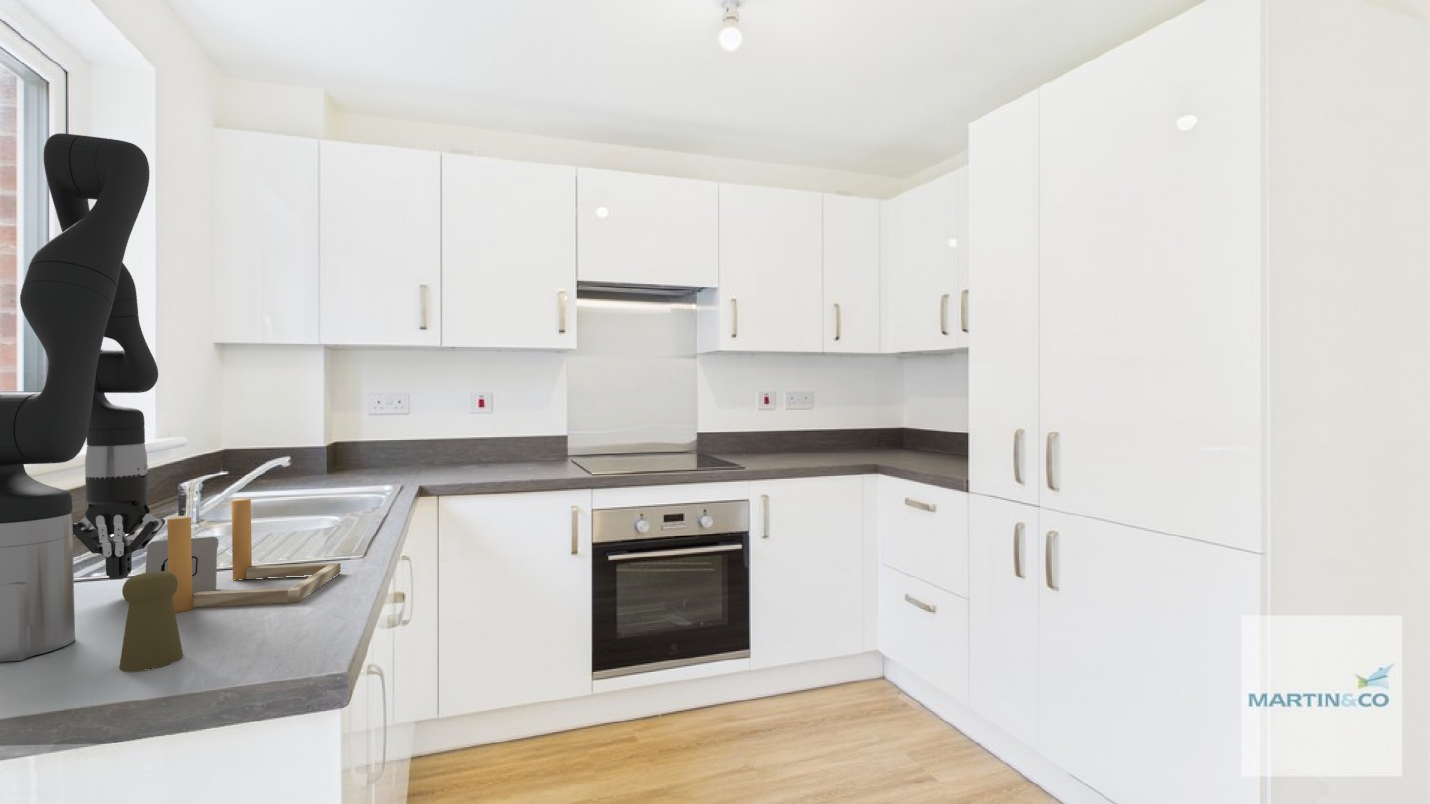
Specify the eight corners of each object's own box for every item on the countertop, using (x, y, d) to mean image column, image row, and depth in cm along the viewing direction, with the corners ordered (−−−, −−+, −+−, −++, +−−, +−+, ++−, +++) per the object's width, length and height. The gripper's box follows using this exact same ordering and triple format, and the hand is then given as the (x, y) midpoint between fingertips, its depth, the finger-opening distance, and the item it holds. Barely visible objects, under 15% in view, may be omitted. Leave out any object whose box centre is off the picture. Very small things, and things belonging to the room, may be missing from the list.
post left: (185, 612, 100) (183, 520, 100) (164, 613, 100) (162, 520, 100) (196, 606, 103) (195, 516, 103) (176, 607, 103) (175, 517, 102)
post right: (246, 580, 117) (245, 501, 117) (229, 580, 117) (227, 501, 116) (255, 575, 120) (253, 498, 120) (238, 576, 119) (236, 499, 119)
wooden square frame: (298, 602, 105) (297, 589, 105) (193, 607, 102) (192, 594, 102) (340, 573, 121) (340, 562, 121) (250, 577, 119) (250, 566, 119)
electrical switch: (142, 602, 105) (143, 543, 106) (153, 596, 110) (154, 539, 110) (214, 594, 109) (215, 537, 110) (222, 589, 114) (222, 534, 114)
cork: (195, 651, 85) (193, 566, 85) (157, 671, 79) (155, 580, 79) (147, 652, 85) (145, 567, 85) (105, 672, 79) (103, 580, 79)
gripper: (51, 476, 103) (53, 587, 103) (146, 474, 105) (149, 582, 105) (88, 470, 110) (90, 573, 111) (177, 468, 112) (179, 570, 113)
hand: (119, 578), depth 108 cm, fingers closed
